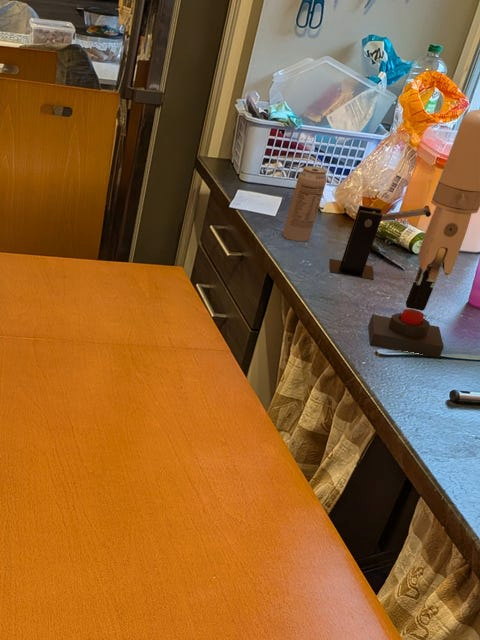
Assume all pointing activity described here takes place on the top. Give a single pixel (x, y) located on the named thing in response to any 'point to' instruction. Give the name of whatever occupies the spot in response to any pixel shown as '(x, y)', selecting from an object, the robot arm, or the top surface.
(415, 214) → the lever
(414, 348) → the control block
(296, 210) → the energy drink can
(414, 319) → the button
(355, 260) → the bracket
